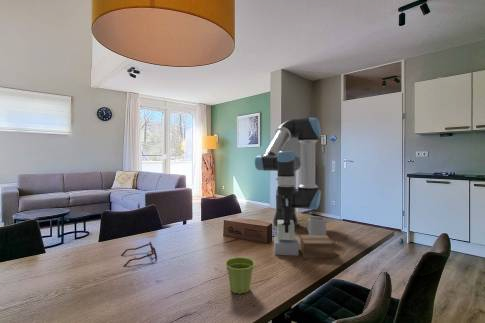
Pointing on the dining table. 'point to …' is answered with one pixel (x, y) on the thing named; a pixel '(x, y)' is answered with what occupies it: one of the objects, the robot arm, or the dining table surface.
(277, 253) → the slate block
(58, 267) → the dining table surface
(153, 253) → the glasses
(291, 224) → the sage cube
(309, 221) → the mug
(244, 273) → the plant pot
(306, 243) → the walnut plinth
